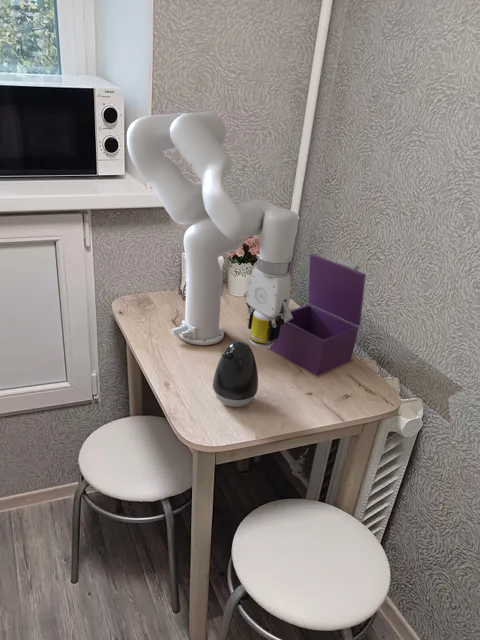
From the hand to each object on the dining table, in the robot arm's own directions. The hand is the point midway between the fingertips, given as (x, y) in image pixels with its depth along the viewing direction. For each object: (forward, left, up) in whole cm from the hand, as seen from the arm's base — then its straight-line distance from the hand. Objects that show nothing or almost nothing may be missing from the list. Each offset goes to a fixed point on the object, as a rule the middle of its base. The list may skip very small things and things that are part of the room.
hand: (263, 332), depth 130 cm
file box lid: (+19, -5, +9) cm, 21 cm away
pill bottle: (0, 0, -3) cm, 3 cm away
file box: (+14, -5, -9) cm, 17 cm away
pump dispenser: (-17, -9, -9) cm, 21 cm away
